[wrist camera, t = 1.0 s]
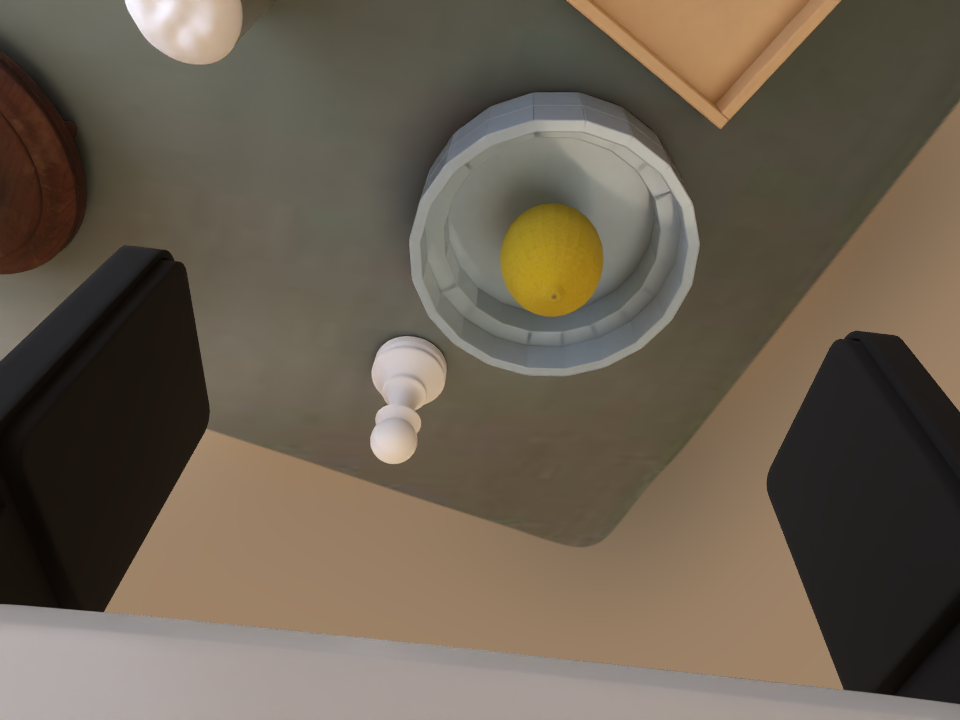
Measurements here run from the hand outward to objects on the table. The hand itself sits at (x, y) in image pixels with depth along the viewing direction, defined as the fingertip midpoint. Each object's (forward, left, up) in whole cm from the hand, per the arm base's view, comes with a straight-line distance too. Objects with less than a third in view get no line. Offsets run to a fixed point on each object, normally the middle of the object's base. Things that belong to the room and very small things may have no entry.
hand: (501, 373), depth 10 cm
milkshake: (+6, -12, -30) cm, 32 cm away
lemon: (+8, +8, -29) cm, 32 cm away
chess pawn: (+22, +7, -30) cm, 38 cm away
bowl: (+8, +8, -30) cm, 32 cm away
